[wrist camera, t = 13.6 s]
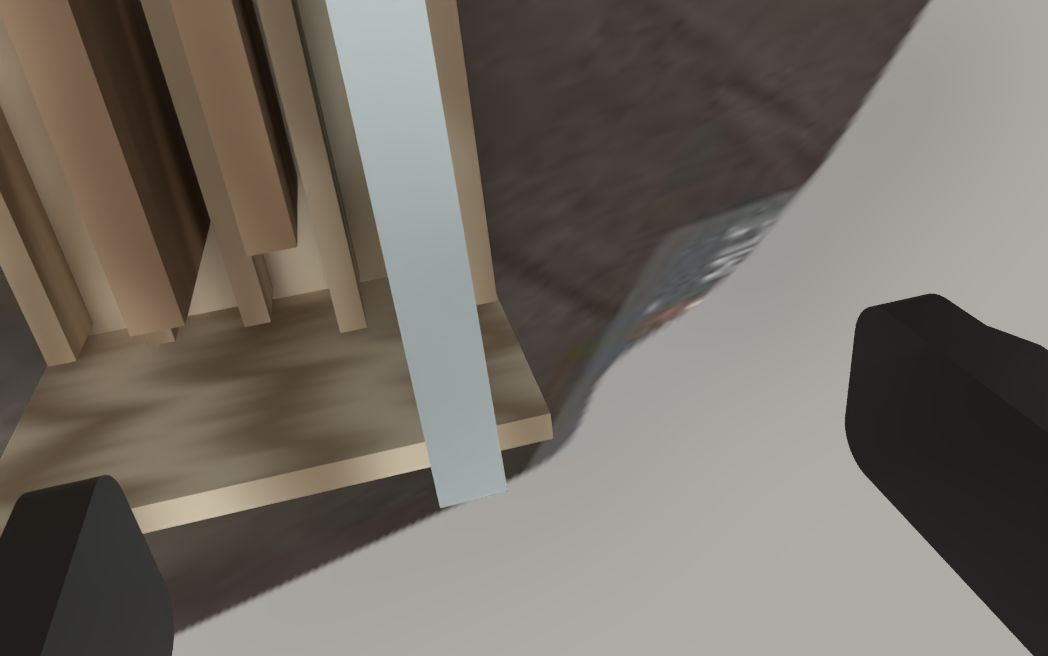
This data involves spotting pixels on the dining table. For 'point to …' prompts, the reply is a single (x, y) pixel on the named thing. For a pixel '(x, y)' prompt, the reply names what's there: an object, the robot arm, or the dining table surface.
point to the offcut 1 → (117, 148)
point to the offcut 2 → (242, 118)
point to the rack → (239, 307)
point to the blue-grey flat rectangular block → (421, 235)
